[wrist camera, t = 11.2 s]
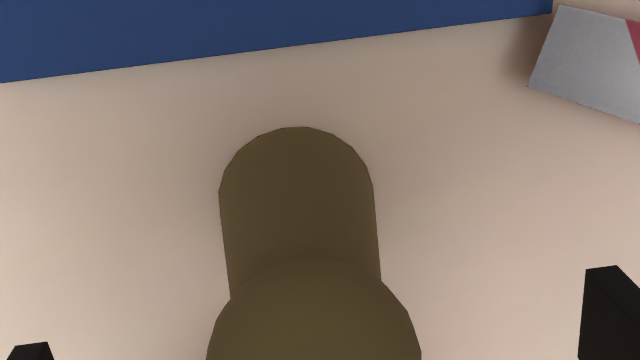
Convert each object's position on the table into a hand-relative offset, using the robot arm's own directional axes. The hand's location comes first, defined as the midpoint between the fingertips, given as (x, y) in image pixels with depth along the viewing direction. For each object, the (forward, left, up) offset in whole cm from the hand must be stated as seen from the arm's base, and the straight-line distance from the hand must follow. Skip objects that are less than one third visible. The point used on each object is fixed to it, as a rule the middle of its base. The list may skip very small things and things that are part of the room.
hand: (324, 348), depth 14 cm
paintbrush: (-18, -1, -9) cm, 20 cm away
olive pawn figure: (0, 0, -9) cm, 9 cm away
